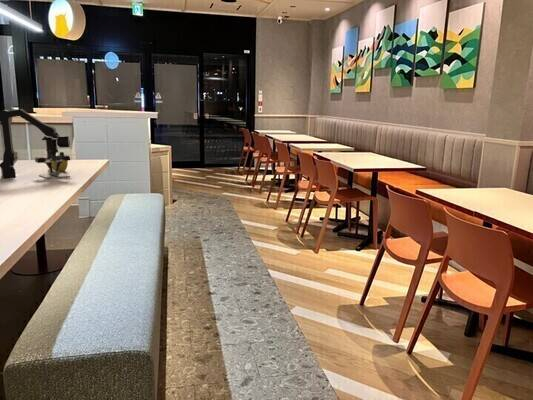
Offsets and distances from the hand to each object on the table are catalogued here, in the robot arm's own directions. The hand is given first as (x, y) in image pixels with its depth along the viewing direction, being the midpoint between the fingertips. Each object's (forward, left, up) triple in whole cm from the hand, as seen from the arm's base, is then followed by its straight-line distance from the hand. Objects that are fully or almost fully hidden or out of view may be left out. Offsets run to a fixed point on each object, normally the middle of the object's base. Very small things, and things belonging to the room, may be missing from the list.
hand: (54, 172), depth 268 cm
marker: (0, +1, -1) cm, 1 cm away
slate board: (0, 0, -2) cm, 2 cm away
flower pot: (+9, +17, -2) cm, 20 cm away
